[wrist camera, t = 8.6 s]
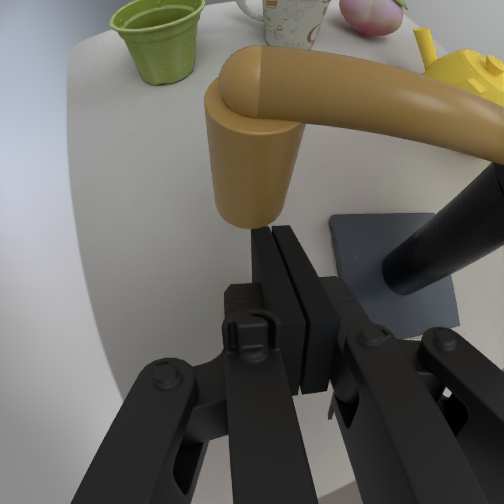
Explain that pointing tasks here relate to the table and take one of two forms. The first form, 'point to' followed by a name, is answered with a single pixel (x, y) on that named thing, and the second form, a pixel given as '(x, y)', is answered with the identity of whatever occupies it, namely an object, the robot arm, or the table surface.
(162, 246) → the table surface
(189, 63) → the plant pot
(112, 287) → the table surface
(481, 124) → the spout
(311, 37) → the mug
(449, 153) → the table surface
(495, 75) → the teapot
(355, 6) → the decorative fruit
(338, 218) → the square base plate
